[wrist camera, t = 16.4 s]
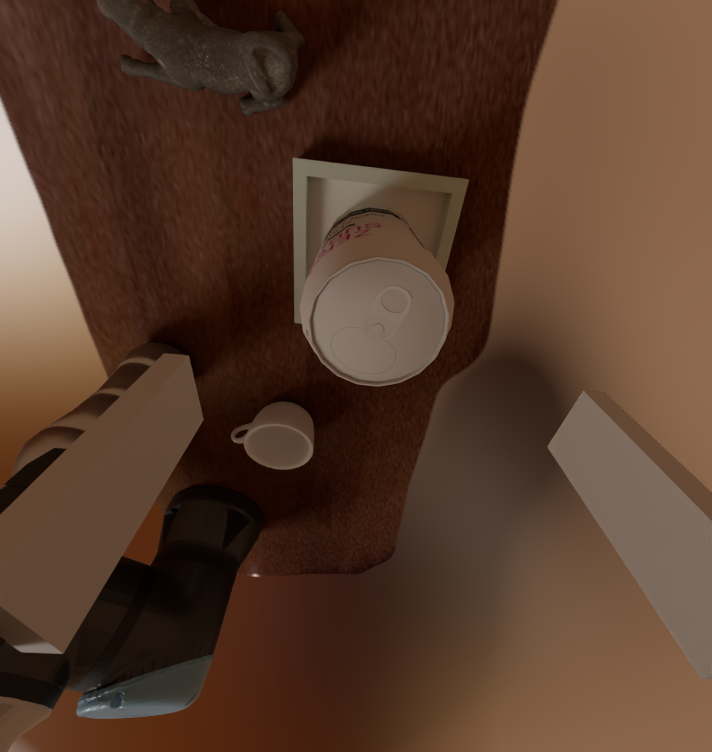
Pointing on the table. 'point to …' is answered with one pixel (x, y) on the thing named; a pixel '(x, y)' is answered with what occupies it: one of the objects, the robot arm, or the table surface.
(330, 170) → the can tray
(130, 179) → the table surface
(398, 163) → the table surface
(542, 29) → the table surface
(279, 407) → the teacup
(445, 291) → the supplement can
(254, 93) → the dog figurine
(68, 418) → the plastic bottle
